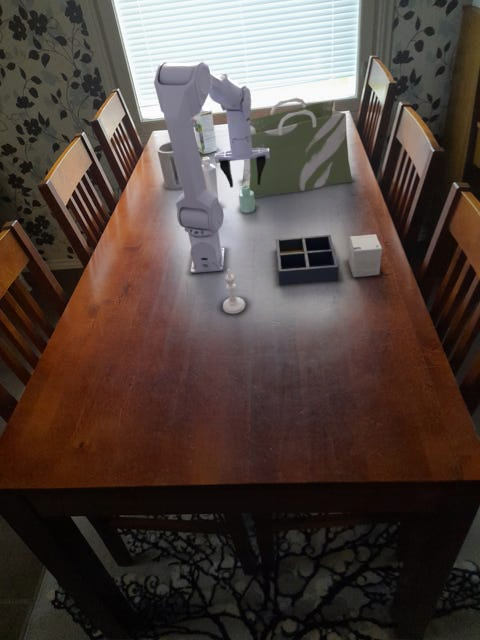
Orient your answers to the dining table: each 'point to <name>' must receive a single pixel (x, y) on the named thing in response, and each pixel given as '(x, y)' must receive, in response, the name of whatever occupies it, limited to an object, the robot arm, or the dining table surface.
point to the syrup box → (205, 131)
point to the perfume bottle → (210, 176)
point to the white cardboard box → (365, 255)
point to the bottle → (246, 199)
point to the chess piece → (232, 297)
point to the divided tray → (306, 260)
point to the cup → (168, 166)
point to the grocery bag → (299, 149)
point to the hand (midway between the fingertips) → (245, 184)
